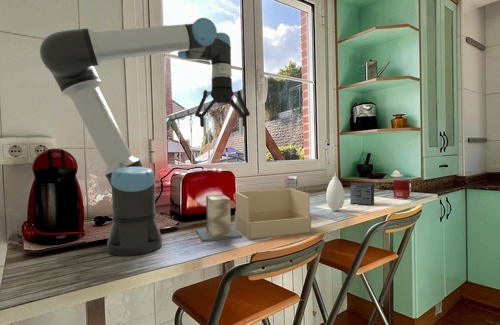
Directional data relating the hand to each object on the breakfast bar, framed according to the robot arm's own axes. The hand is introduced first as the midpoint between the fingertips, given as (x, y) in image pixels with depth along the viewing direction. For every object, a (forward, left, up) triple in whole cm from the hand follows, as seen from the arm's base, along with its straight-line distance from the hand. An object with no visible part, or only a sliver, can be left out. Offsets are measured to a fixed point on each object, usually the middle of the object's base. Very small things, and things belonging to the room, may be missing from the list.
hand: (223, 135), depth 111 cm
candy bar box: (+31, +6, -34) cm, 46 cm away
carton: (+14, -12, -34) cm, 38 cm away
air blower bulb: (+53, +7, -34) cm, 63 cm away
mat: (-5, -11, -34) cm, 36 cm away
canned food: (+107, +23, -34) cm, 115 cm away
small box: (+75, +16, -34) cm, 84 cm away
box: (-5, -11, -33) cm, 35 cm away
